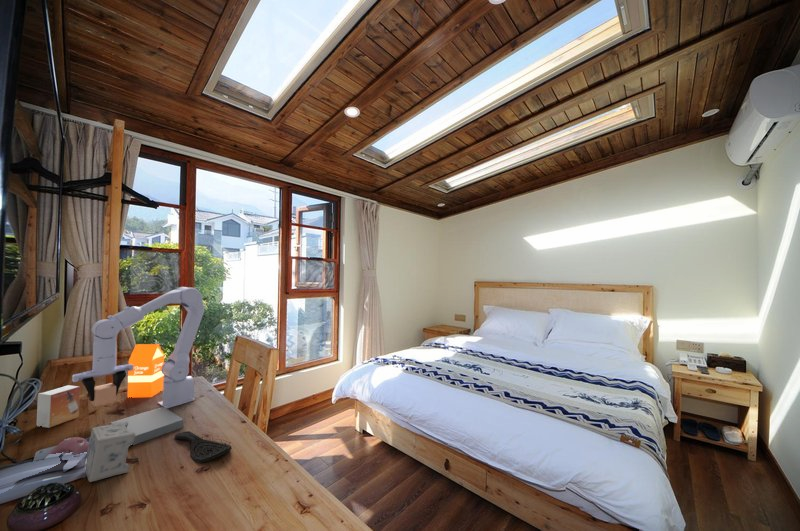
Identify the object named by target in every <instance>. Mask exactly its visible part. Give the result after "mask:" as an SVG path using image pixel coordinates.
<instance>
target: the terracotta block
mask: <svg viewBox="0 0 800 531" xmlns="http://www.w3.org/2000/svg"><path fill="white" fill-rule="evenodd" d="M113 402H117V395H116V385H114V384H113V382H109V383H106V384H100V385H95V388H94V401H90V403H91V404H92V406H94V407H99V406H102V405H103V406H104V405H107V404H110V403H113Z"/></svg>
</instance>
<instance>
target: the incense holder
mask: <svg viewBox="0 0 800 531" xmlns="http://www.w3.org/2000/svg"><path fill="white" fill-rule="evenodd" d="M127 426H128V422H123V423H116V424H111V425H110V424H105V425H99V426H94V427H93V428H92V429H91V432H90V436H89V442H88V443H89V446H88V450H87V454H86V456H85V458H87V464H86V470H85V473H86V477H87V480H88V482H89V483H92V482H97V481H99V480H103V479H107V478H110V477H114V476H117V475H122V474H128V473H129V471H130V465H129V464H128V463H127V458H128V457H127V456H128V452H129V445H131V444H133V442H134V440H135V432H129V431H128V430H127Z"/></svg>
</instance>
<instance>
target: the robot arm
mask: <svg viewBox="0 0 800 531" xmlns="http://www.w3.org/2000/svg"><path fill="white" fill-rule="evenodd" d="M203 296H204V295H203V294H202V293H201V291H200V290H198V288H195V287H187V286H180V287H177V288H176V289H172V290H170V291H167V292H165V293H164V294H161V295H159V296H158V297H156V298H154V299H152V300H151V301H148V302H146V303H145V304H142V305H141V306H134V305H132V306H125V307H124V308H123V309H124V310H121V311H120V312H117V313H115V314H113V315H111V314H110V315H107V319H99V320H98V321H96V322H95V323H94V324H93V325H92V328H91V333H92V334H93V344H92V366H91V367H92V370H87V371H83V372H80V373H75V374H72V377H71V381H72V383H76V382H79V381H81V383H82V384H83V386H84V387H85V389H86V392H87V394H88V399H89V401H90V402H91V401H94V388H95V386H96V380H95V378H98V377H103V376H108V375H109V376H110V375H112V383H113V384H114V385H116V396H118V392H119V389H120V386H121V385H122V383H123V381H124V379H125V378H126V376H127V372H128V371H132V370H133V364H129V363H128V364H127V363H126V364H121V365H117V356H118V355H117V353H118V350H117V348H118V345H117V344H118V341H117V335H119V333H120V331H124V330H125V329H128V328H129V327H131V326H133V325H135V324H137V323H139V322H141V321H143V320H144V318H145V315H147V314H150V313H152V312H155V311H156V310H158V309H160V308H162V307H165V306H167V305H169V304H180V305H181V306H182V307H183V308H184V309H185V311H186V312H187V314H186V316H185V319H184V322H183V325H182V327H181V329H180V332H179V335H178V338H177V341H176V343H175V346H174V349H173V352H172V353H171V354H169V356H168V358H167V359H166V361H164V364H163V366H162V369H161V371H162V373H163V374H164V379H163V390H162V400H161V401H157V404H158V405H160V406H161V407H165V408H166V409H170V408H174V407H177V406H181V405H183V404H187V403H191V402H193V401H195V400H196V399H195V380H194V378H193V376H192V375H189V373H190V368H189V364H190V363H191V360H190V353H191V350H192V347H193V344H194V341H195V339H196V336H197V333H198V331H199V328H200V324H201V323H202V322H201V321H202V319H203V316H204V314H205V306H204V301H203V298H204V297H203Z"/></svg>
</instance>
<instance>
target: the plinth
mask: <svg viewBox="0 0 800 531" xmlns="http://www.w3.org/2000/svg"><path fill="white" fill-rule="evenodd" d="M123 422H128V426H127V430H128V431H129V432H135V440H134V442H133V446H135V445H137V444H141V443H144V442H146V441H149V440H151V439H152V440H153V439H154V438H157V437H160V436H163V435H165V434H167V433H171V432H174V431H176V430H179V429H182V428H184V419H183V418H182V417H180V416H178V414H176V413H174V412H172V411H171V410H169V408H167V409H166V408H165V407H163V406H161V407H158V408H155V409H151V410H147V411H144V412H140V413H137V414H134V415H131V416H128V417H124V418H121V419H117V420H114V421H110V423H109V425H111V424H116V423H123Z"/></svg>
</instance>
